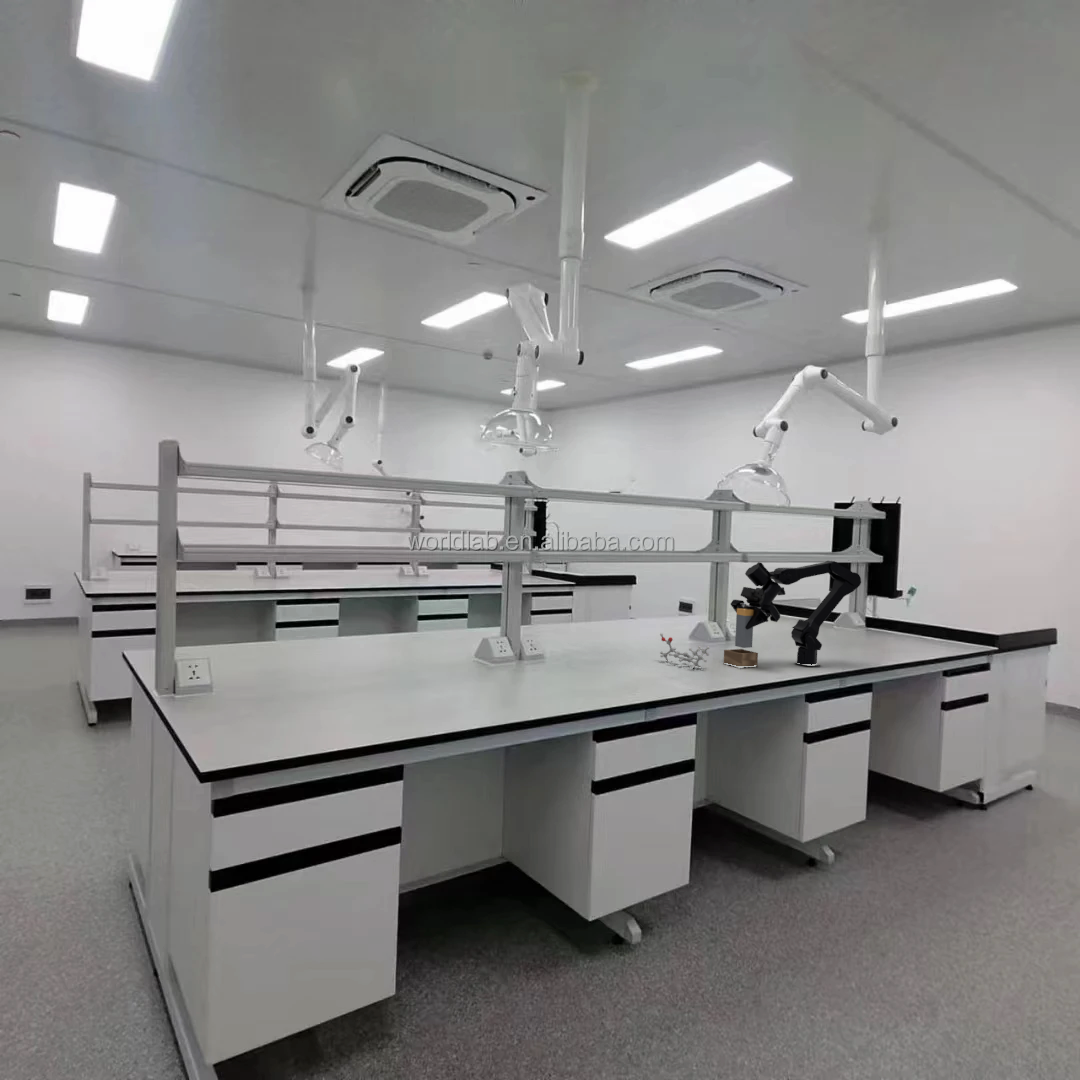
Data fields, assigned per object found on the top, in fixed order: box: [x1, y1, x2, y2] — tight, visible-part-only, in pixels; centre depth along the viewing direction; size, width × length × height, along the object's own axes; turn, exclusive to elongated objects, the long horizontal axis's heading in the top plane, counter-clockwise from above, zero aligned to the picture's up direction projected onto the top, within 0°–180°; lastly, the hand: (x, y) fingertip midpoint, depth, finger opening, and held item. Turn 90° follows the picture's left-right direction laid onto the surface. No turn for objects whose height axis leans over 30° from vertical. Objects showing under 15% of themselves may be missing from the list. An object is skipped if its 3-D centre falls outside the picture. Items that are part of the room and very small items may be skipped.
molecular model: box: [659, 632, 710, 668], centre depth 234 cm, size 19×10×10 cm, turn 31°
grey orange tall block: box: [734, 608, 754, 649], centre depth 237 cm, size 4×4×13 cm
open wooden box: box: [723, 648, 759, 666], centre depth 238 cm, size 8×8×5 cm
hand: (741, 627), depth 236 cm, fingers closed on grey orange tall block, 4 cm apart
